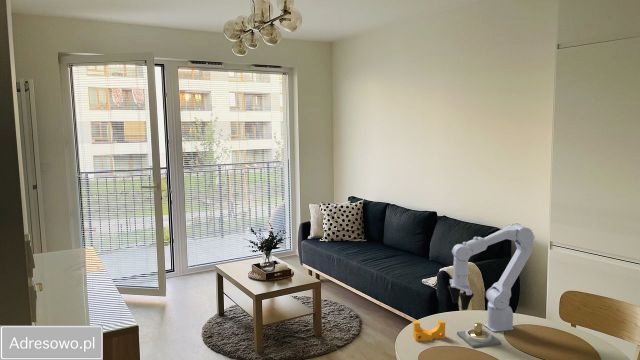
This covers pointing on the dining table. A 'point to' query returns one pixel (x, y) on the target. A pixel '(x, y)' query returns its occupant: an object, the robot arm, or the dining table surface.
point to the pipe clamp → (428, 331)
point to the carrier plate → (478, 339)
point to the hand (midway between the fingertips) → (460, 306)
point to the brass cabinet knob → (478, 331)
